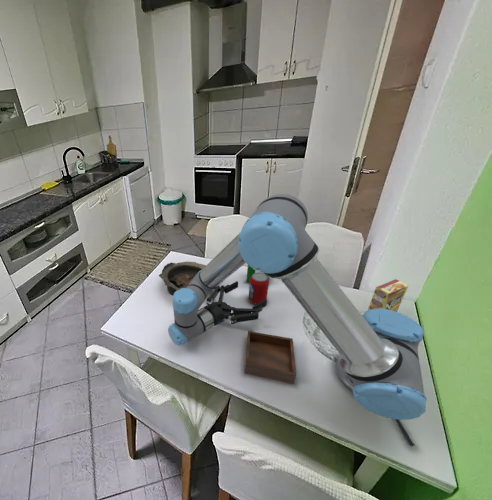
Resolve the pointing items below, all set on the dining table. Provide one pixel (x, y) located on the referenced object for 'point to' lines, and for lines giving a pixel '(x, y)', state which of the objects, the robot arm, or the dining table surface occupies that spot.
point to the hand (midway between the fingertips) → (251, 292)
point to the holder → (270, 357)
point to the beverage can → (258, 288)
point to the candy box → (388, 295)
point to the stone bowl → (179, 275)
